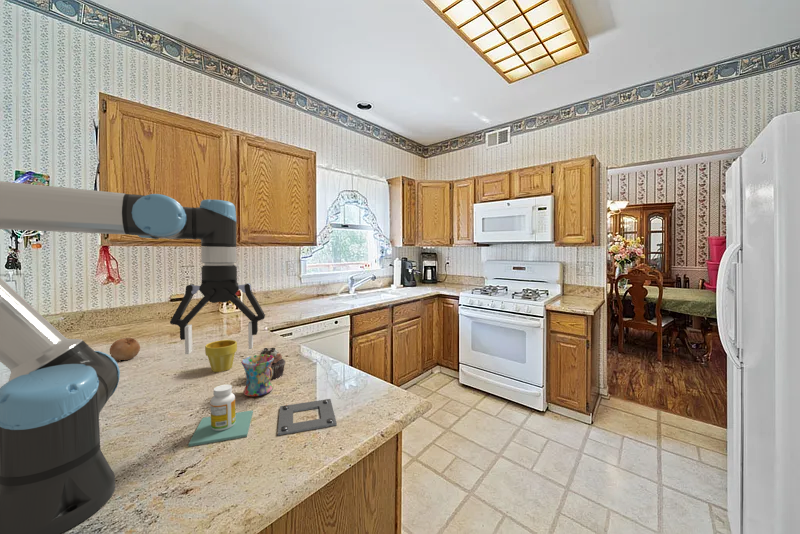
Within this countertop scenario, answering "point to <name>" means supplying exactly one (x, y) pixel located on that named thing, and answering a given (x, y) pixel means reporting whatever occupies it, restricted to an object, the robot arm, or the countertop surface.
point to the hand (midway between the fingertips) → (220, 350)
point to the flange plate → (289, 427)
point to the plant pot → (221, 354)
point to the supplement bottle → (223, 408)
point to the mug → (258, 374)
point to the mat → (208, 435)
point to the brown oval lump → (124, 349)
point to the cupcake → (275, 362)
